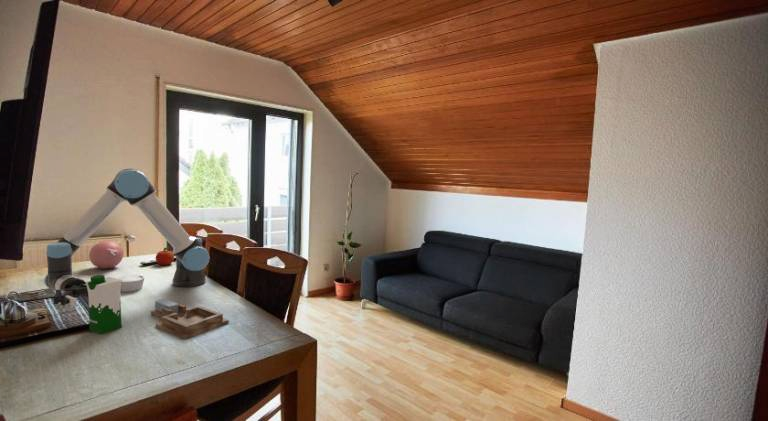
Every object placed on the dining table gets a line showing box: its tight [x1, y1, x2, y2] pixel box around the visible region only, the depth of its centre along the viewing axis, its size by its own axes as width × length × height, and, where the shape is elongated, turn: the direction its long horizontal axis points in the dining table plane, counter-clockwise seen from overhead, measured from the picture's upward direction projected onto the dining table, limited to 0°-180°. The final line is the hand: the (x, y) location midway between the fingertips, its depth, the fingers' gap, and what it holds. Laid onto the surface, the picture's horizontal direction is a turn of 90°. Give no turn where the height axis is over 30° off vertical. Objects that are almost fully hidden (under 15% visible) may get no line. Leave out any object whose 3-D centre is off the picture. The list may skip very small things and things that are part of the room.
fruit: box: [155, 247, 175, 266], centre depth 227 cm, size 10×10×10 cm
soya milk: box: [85, 274, 123, 335], centre depth 139 cm, size 9×9×20 cm
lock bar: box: [154, 298, 179, 314], centre depth 155 cm, size 4×10×4 cm, turn 60°
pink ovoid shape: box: [88, 240, 124, 270], centre depth 212 cm, size 15×20×15 cm
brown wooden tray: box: [150, 303, 230, 340], centre depth 150 cm, size 18×31×4 cm, turn 60°
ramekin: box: [116, 274, 145, 293], centre depth 183 cm, size 11×11×5 cm
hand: (97, 297), depth 140 cm, fingers open, 13 cm apart
